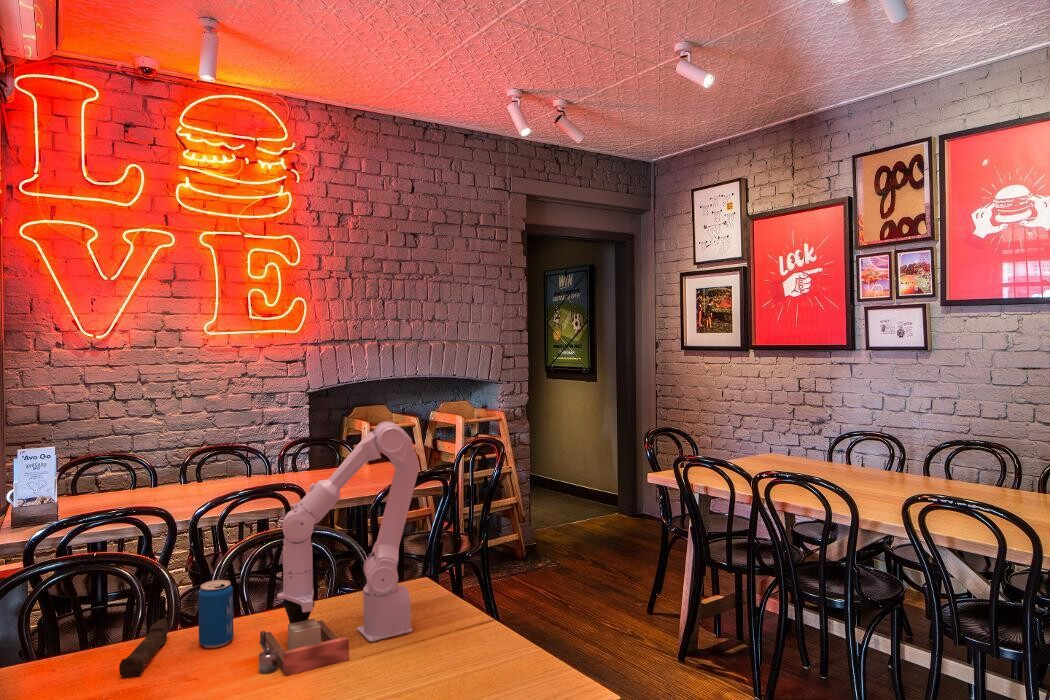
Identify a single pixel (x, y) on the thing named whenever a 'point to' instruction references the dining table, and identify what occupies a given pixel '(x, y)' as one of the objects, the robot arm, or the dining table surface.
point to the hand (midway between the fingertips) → (298, 636)
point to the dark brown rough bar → (144, 650)
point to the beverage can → (215, 613)
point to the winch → (267, 656)
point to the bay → (311, 652)
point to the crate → (303, 633)
